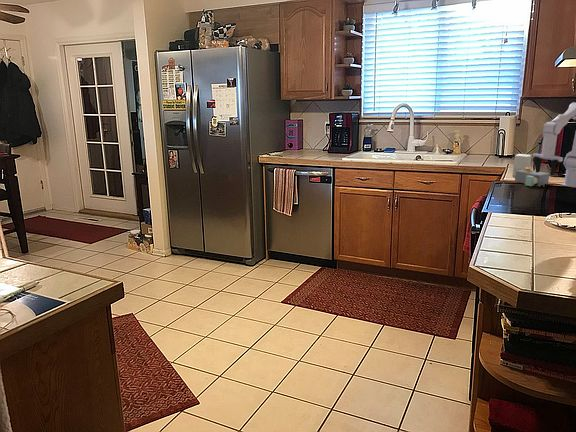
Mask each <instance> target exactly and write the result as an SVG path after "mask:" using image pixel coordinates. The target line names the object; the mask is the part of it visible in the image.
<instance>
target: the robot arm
mask: <svg viewBox="0 0 576 432" xmlns="http://www.w3.org/2000/svg"><path fill="white" fill-rule="evenodd" d="M572 118H574V119H576V102H574V101H573V102H571V103H570V104H569V106H568V108H567V110H566V111H565V112H564V113H563V114H558V115H557V116H556V117H555V118H554V119H552V120H550V121H546V122H545V123H544V124H543V127H542V128H541V129H542V137H543V141H542V149H541V153H536V152H535V153H532V156H531V158H532V161H533V162H532V163H533V165H534V168H535V171H536V172H541V165H542V163H543V160H549V161H550V167H551V168H550V172H549V173H550V174H549V176H554V175H555V173H556V171H557V168H559V166H560V165H561V163H562V162H563V167H565V169H566V170H565V176H564V182H563V183H561V184H560V186H564V187H565V186H566V187H570V188H576V131H575V133H574V138H573V144H572V149H571V151H568V153H566V155H565V157H562V156H557V155H555V153H556V147H557V141H558V140H557V139H558V135H559V134H560V133H561V130H562V129H563V128H564V127H565V126H566V125H567V124H568V123H569V120H570V119H572Z"/></svg>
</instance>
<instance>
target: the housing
mask: <svg viewBox="0 0 576 432" xmlns="http://www.w3.org/2000/svg"><path fill="white" fill-rule="evenodd" d="M550 173H551V172H543V171H540V172H536V170H532V169H531V170H530V172H525V169H523V170H518V171H516V175H515V177H514V182H516V183H521V184H525V180H526V176H528V175H529V176H534V177H539V179H538V184H534V185H533V186H536V187H542V186H545V184H546V185H548V184H549V181H550ZM541 185H542V186H541Z"/></svg>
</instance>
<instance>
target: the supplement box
mask: <svg viewBox="0 0 576 432" xmlns="http://www.w3.org/2000/svg"><path fill="white" fill-rule="evenodd" d="M532 156H533V154H525V153H517V154H516V155H514V162H513V169H512V177H514V178H515V175H516V171H518V170H523V169H525V168H526V167H528V168H531V163H532V162H531V161H532Z"/></svg>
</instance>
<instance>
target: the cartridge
mask: <svg viewBox="0 0 576 432" xmlns="http://www.w3.org/2000/svg"><path fill="white" fill-rule="evenodd" d="M538 179H539V177H534V176H529V175H528V176H526V180H525V183H524V186H529V187H533V186H535V185H534V184H537V183H538Z"/></svg>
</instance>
